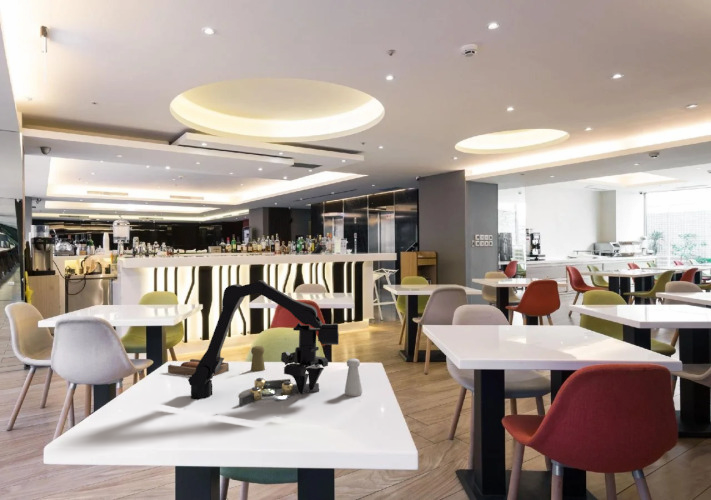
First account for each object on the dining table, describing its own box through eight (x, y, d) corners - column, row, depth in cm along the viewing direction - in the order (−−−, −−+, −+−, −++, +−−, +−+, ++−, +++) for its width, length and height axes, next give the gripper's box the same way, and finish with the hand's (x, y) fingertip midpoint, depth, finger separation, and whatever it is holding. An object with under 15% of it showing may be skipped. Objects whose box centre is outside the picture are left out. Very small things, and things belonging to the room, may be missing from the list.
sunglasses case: (227, 370, 192) (221, 358, 189) (217, 382, 186) (211, 370, 183) (193, 366, 199) (187, 354, 196) (183, 378, 193) (177, 366, 190)
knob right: (282, 394, 151) (282, 383, 151) (281, 391, 155) (281, 381, 155) (319, 392, 154) (319, 381, 154) (318, 389, 157) (318, 379, 157)
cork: (267, 371, 189) (267, 345, 189) (262, 375, 183) (262, 347, 183) (253, 371, 190) (252, 344, 190) (248, 375, 184) (248, 347, 184)
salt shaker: (360, 401, 148) (360, 361, 149) (343, 400, 149) (342, 360, 150) (363, 396, 154) (363, 357, 154) (347, 395, 155) (346, 357, 155)
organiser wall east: (226, 370, 191) (226, 363, 191) (190, 366, 200) (190, 359, 200) (228, 370, 192) (228, 362, 192) (192, 365, 201) (192, 358, 201)
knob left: (254, 391, 156) (254, 380, 156) (254, 388, 159) (254, 377, 159) (290, 388, 159) (290, 377, 159) (289, 385, 163) (289, 375, 163)
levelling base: (266, 415, 136) (266, 398, 136) (216, 407, 144) (216, 390, 144) (307, 393, 157) (306, 378, 158) (261, 387, 165) (261, 373, 166)
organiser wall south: (209, 377, 181) (209, 369, 181) (207, 377, 181) (207, 369, 181) (228, 371, 191) (228, 363, 191) (226, 370, 191) (226, 363, 191)
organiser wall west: (205, 377, 180) (205, 370, 180) (167, 372, 188) (167, 365, 188) (207, 377, 181) (207, 369, 181) (170, 372, 190) (170, 364, 190)
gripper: (301, 338, 163) (300, 382, 162) (270, 345, 146) (269, 395, 145) (329, 341, 158) (328, 386, 157) (300, 349, 141) (299, 400, 140)
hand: (306, 392), depth 150 cm, fingers open, 6 cm apart
